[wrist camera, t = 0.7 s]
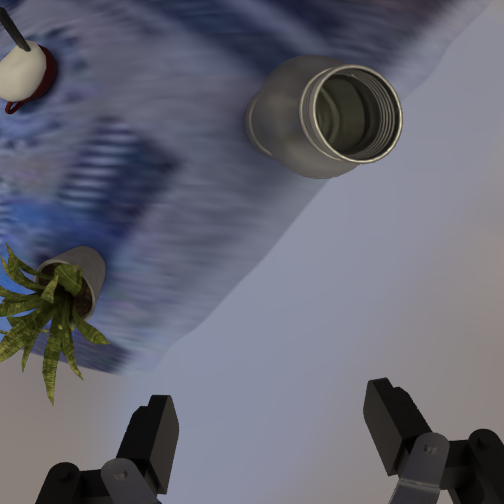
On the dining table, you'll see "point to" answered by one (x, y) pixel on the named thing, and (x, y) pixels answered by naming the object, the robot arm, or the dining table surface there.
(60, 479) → the robot arm
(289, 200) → the dining table surface
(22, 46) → the cocoa
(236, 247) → the dining table surface
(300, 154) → the plastic bottle
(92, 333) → the house plant
